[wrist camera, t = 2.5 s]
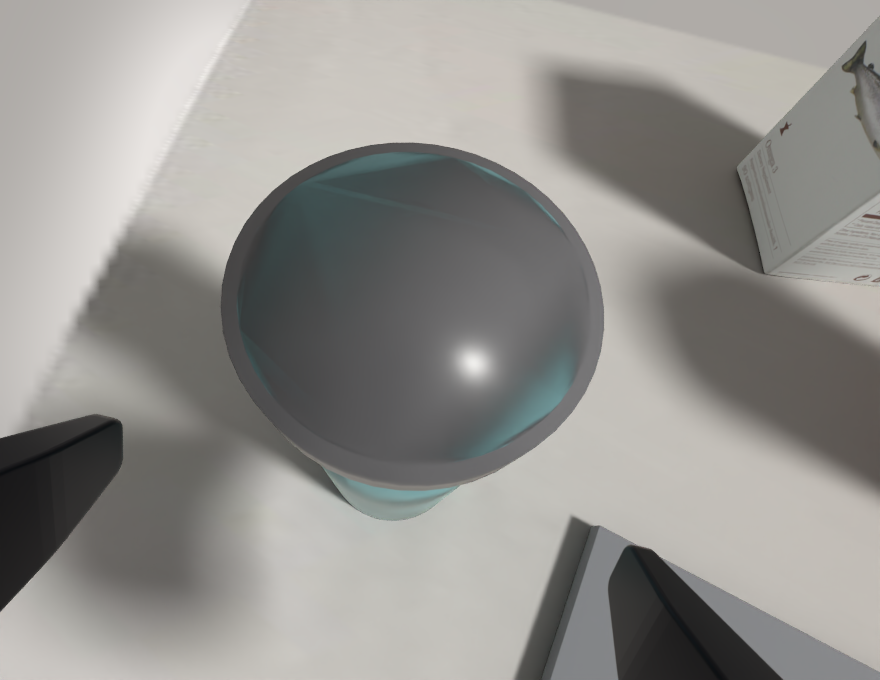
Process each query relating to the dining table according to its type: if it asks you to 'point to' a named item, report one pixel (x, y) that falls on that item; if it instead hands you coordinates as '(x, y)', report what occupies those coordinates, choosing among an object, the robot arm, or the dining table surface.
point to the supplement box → (823, 176)
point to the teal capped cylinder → (411, 319)
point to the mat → (780, 645)
